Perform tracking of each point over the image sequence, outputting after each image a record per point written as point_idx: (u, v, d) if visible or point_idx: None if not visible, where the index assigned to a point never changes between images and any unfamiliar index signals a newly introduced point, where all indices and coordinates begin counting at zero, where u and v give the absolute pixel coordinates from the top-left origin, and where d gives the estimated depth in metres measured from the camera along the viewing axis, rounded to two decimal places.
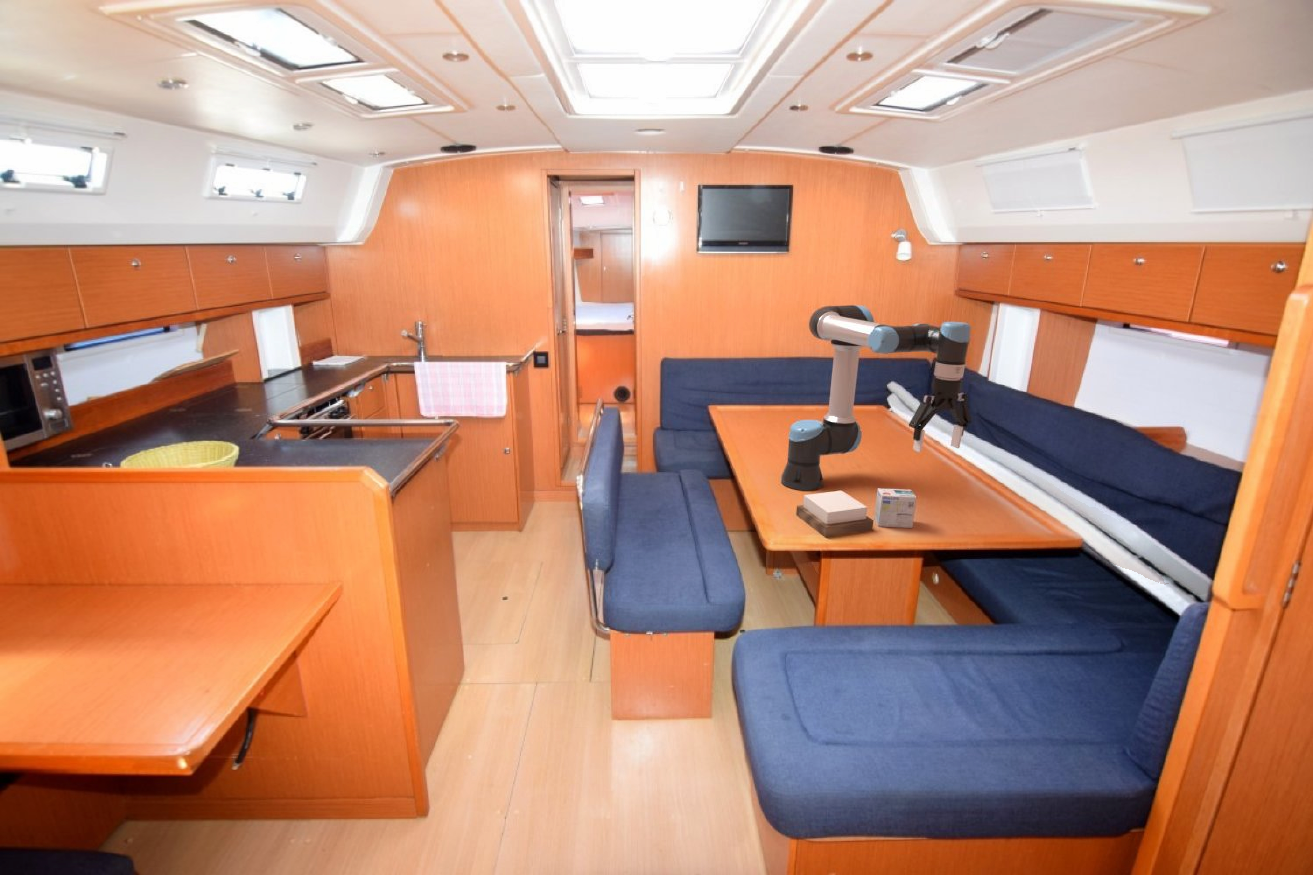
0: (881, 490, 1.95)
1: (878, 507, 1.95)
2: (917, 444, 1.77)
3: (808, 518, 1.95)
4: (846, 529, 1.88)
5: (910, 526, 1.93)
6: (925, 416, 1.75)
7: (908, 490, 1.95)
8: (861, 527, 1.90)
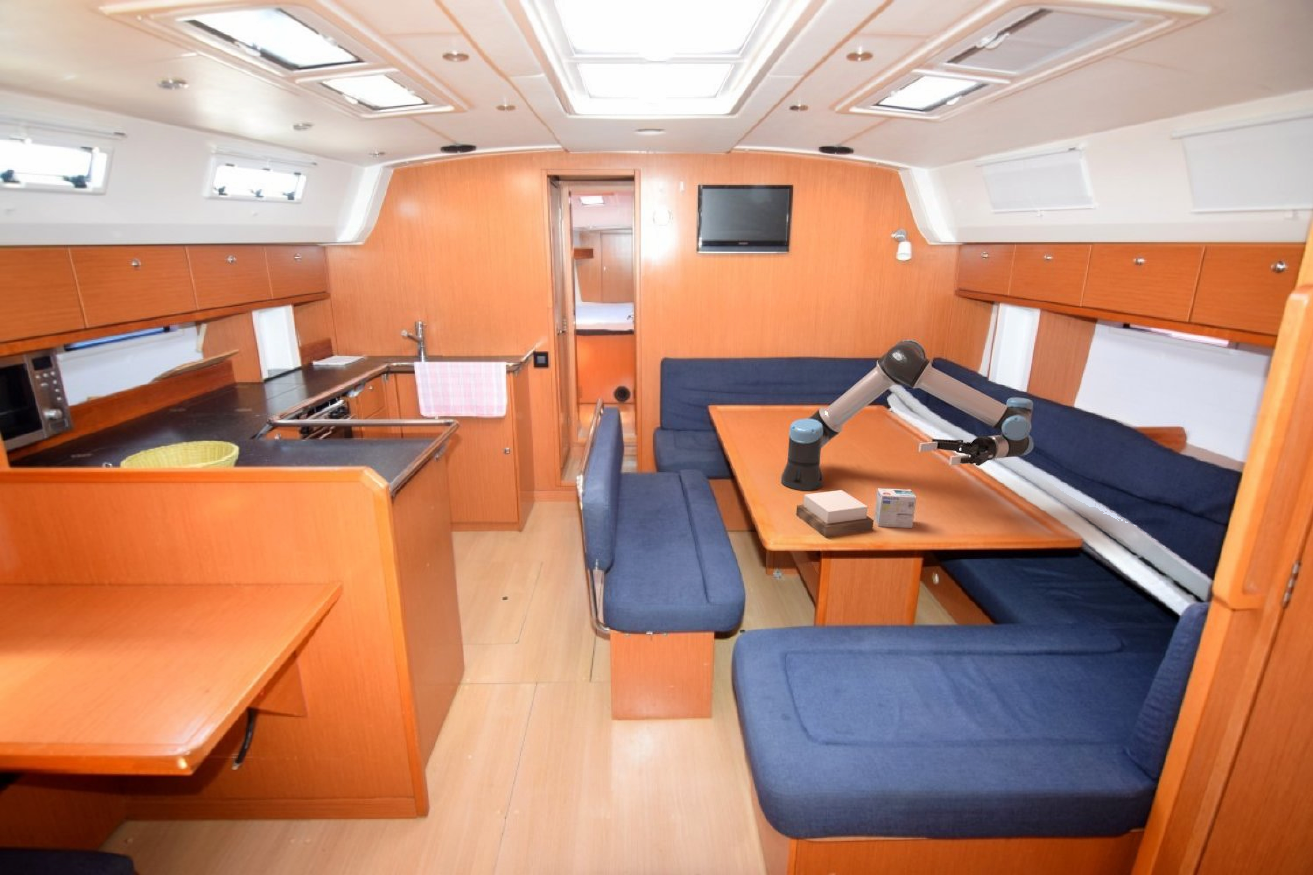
0: (881, 490, 1.95)
1: (878, 507, 1.95)
2: (956, 461, 1.88)
3: (809, 518, 1.94)
4: (847, 528, 1.88)
5: (910, 526, 1.93)
6: (975, 457, 1.91)
7: (908, 490, 1.95)
8: (861, 526, 1.90)
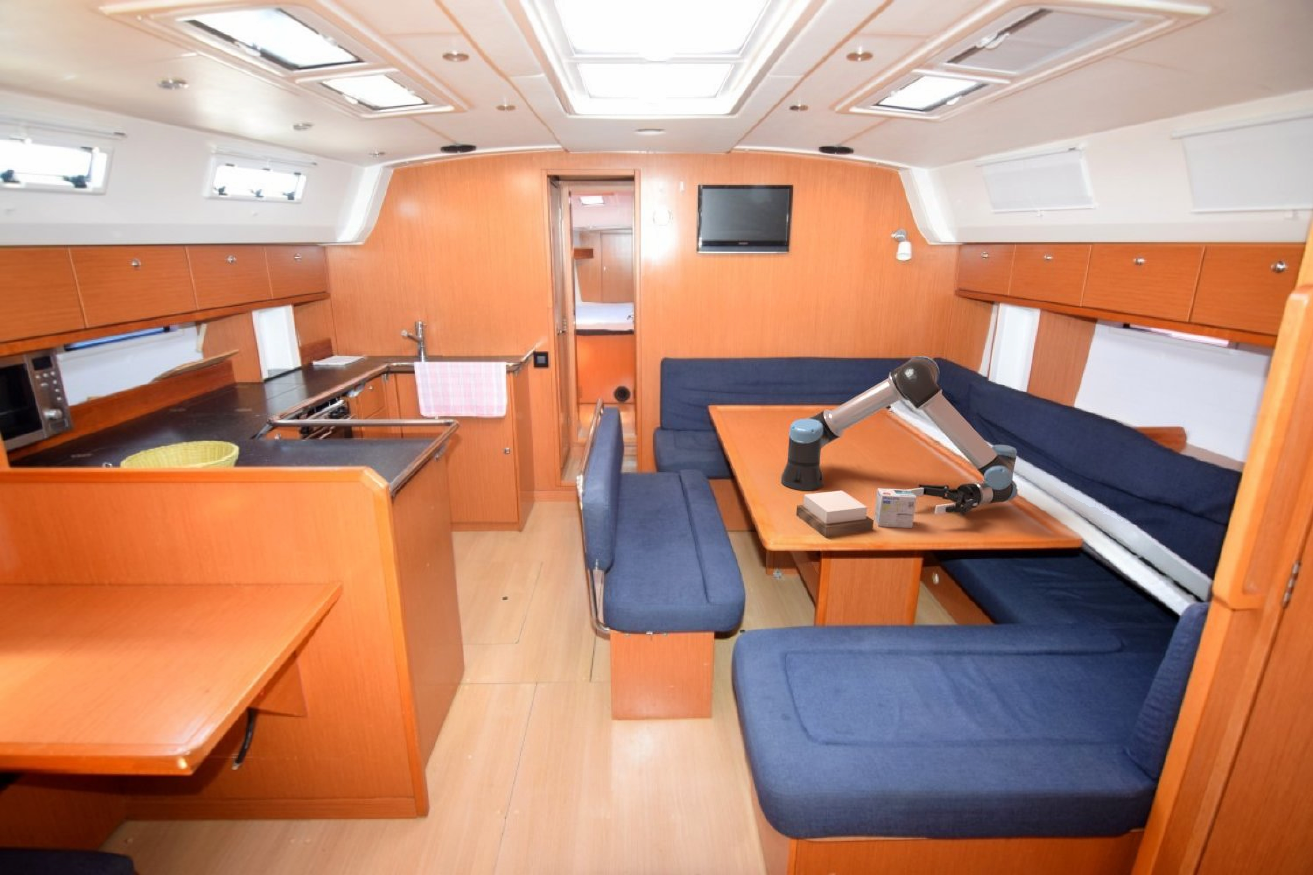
0: (881, 490, 1.95)
1: (878, 507, 1.95)
2: (942, 510, 1.92)
3: (809, 518, 1.94)
4: (847, 529, 1.88)
5: (910, 526, 1.93)
6: (960, 505, 1.95)
7: (908, 490, 1.95)
8: (862, 527, 1.90)
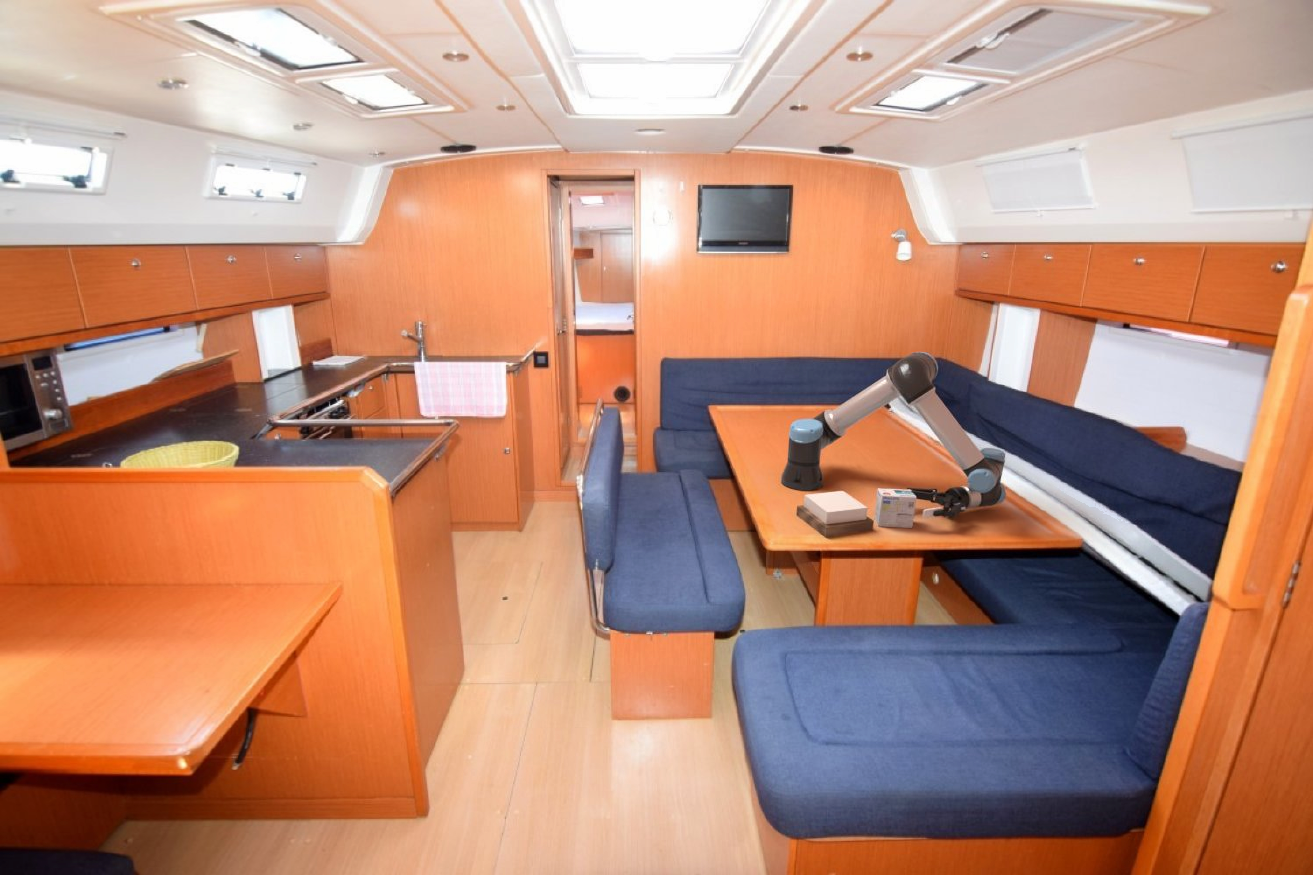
0: (881, 490, 1.95)
1: (878, 507, 1.95)
2: (929, 514, 1.90)
3: (809, 518, 1.94)
4: (847, 529, 1.88)
5: (910, 526, 1.93)
6: (948, 509, 1.94)
7: (908, 490, 1.95)
8: (862, 527, 1.90)
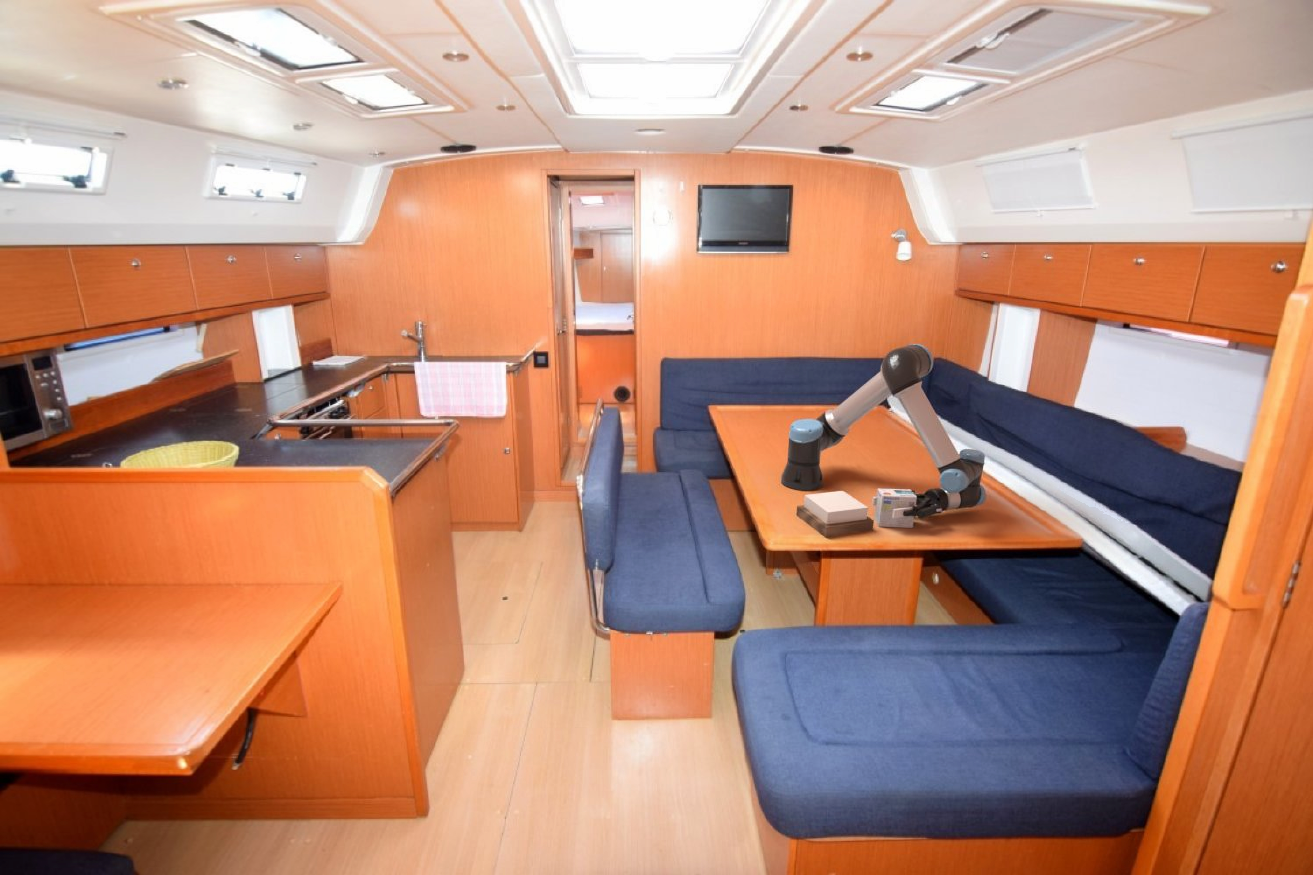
0: (881, 490, 1.95)
1: (878, 507, 1.94)
2: (899, 513, 1.89)
3: (809, 518, 1.94)
4: (847, 529, 1.88)
5: (910, 526, 1.93)
6: (921, 509, 1.92)
7: (908, 490, 1.95)
8: (862, 527, 1.90)
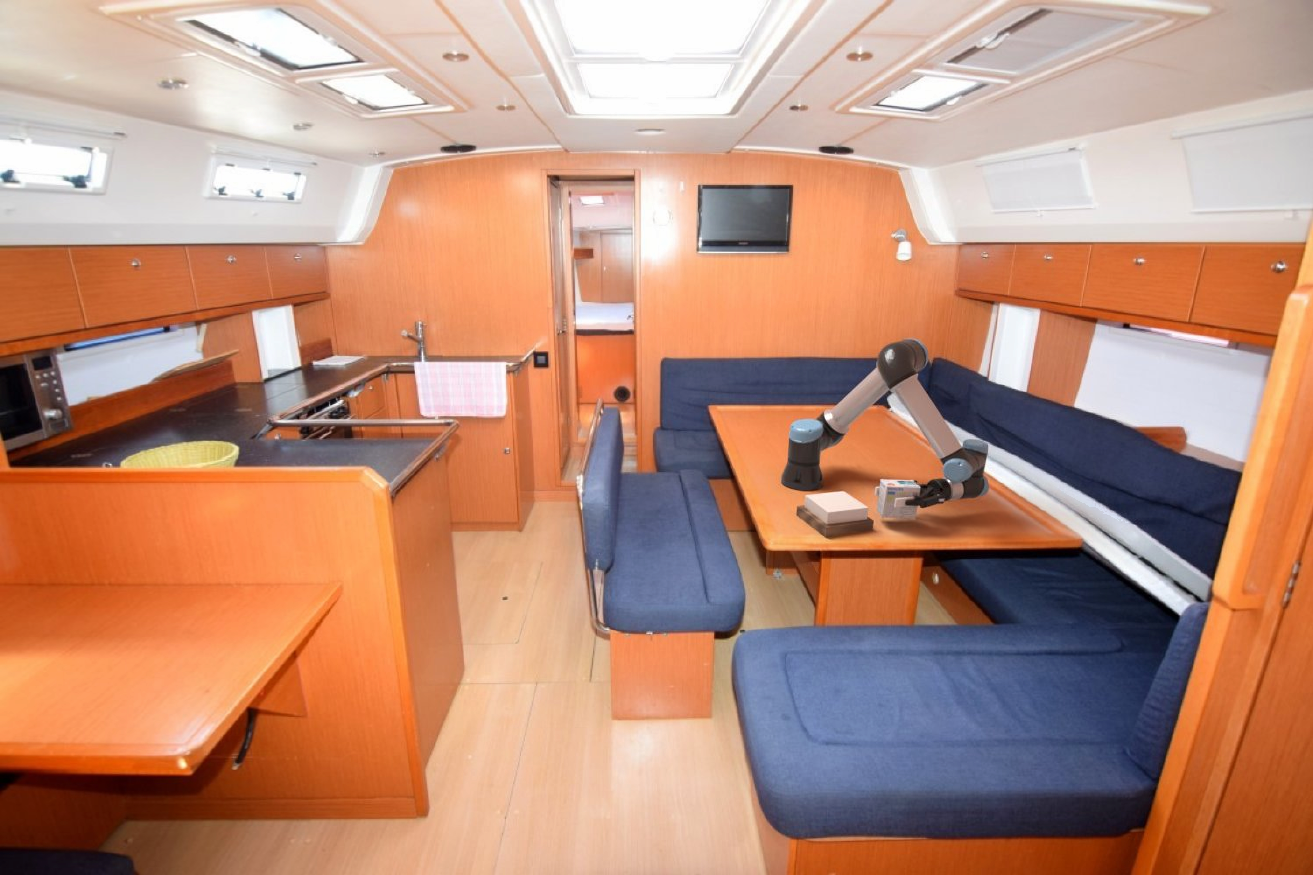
0: (885, 481, 1.93)
1: (882, 498, 1.93)
2: (901, 503, 1.88)
3: (809, 519, 1.94)
4: (847, 529, 1.88)
5: (914, 517, 1.92)
6: None
7: (911, 480, 1.94)
8: (862, 527, 1.90)
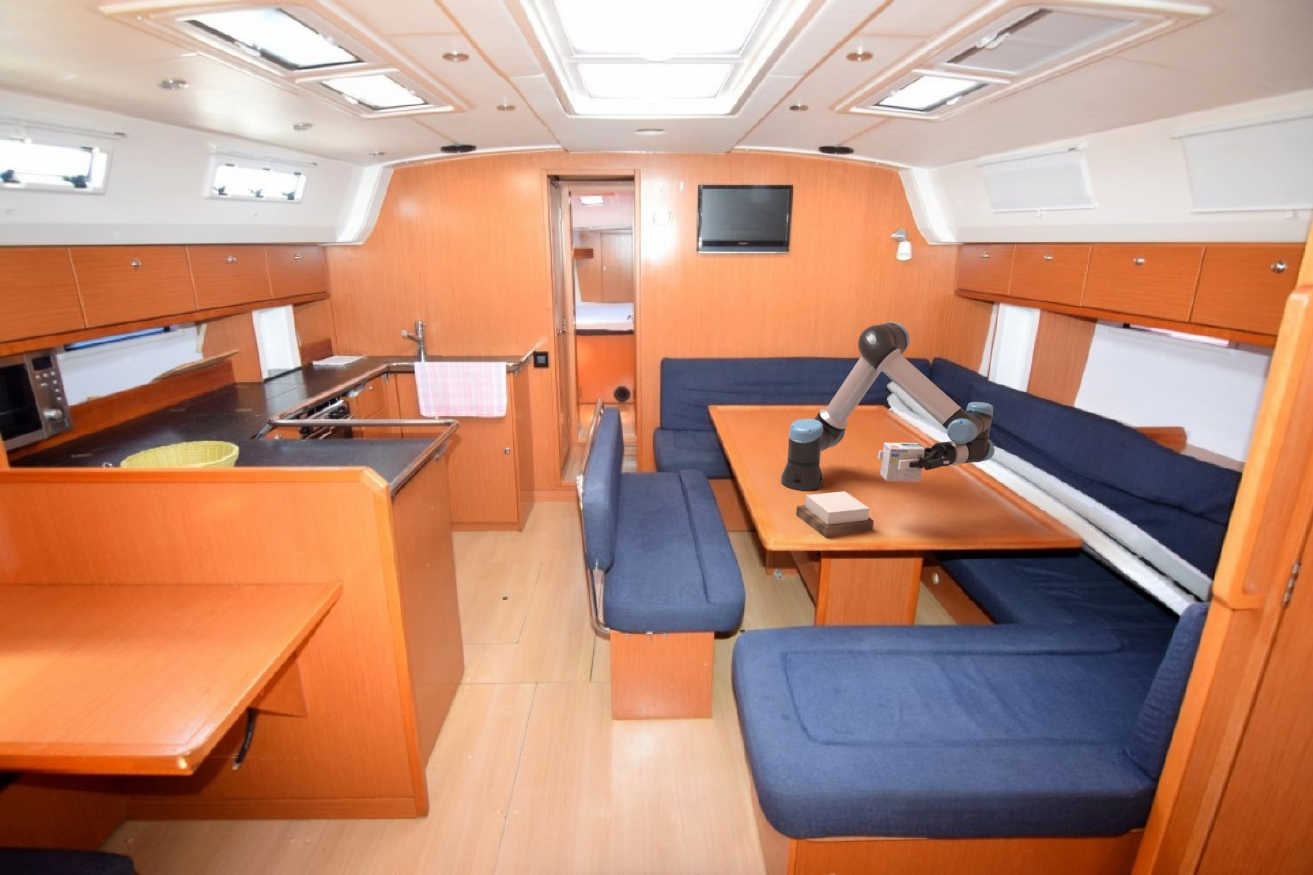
0: (888, 444, 1.90)
1: (886, 461, 1.89)
2: (905, 465, 1.85)
3: (809, 518, 1.94)
4: (847, 529, 1.88)
5: (918, 480, 1.89)
6: None
7: (915, 443, 1.91)
8: (862, 527, 1.90)
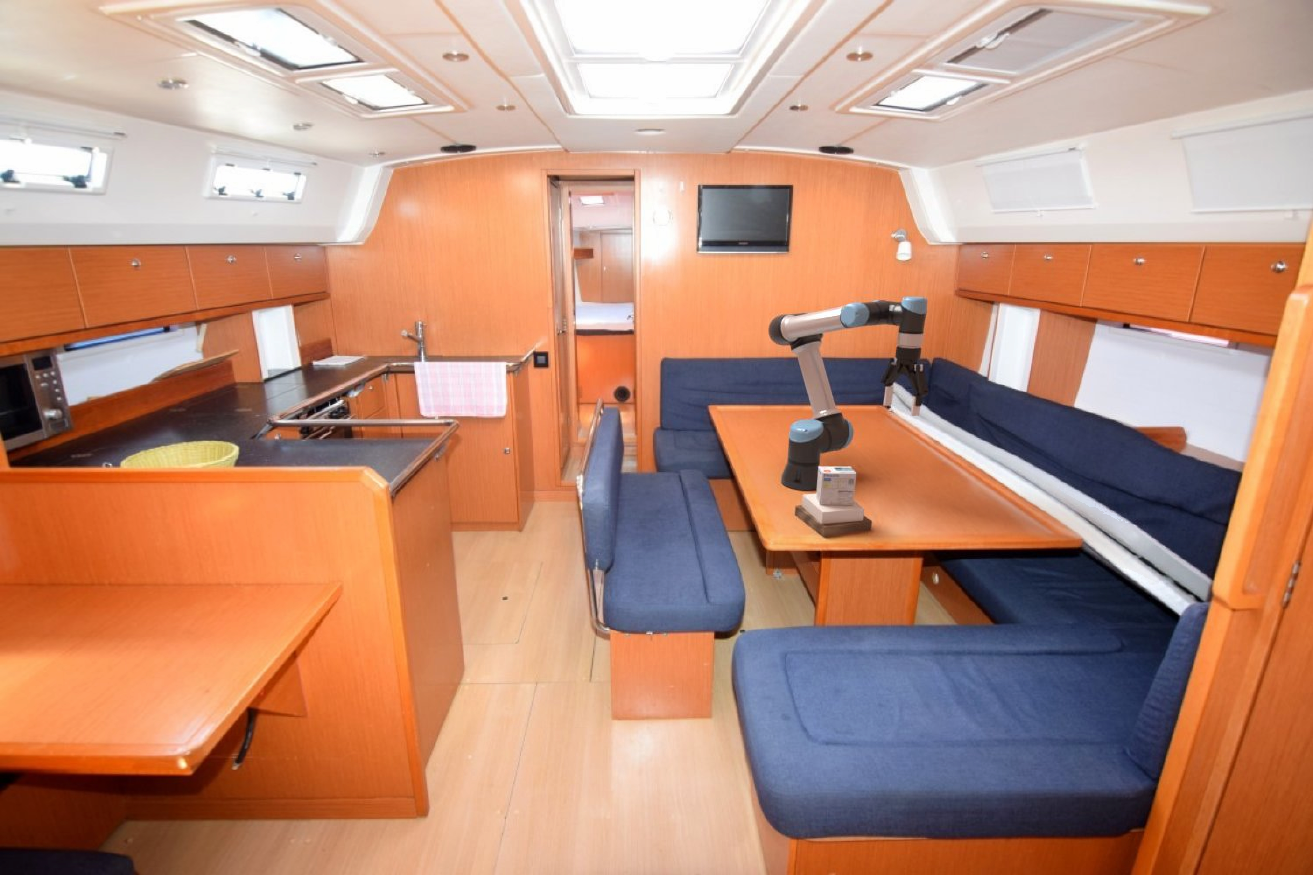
0: (822, 468, 1.93)
1: (819, 485, 1.92)
2: (916, 409, 1.96)
3: (807, 518, 1.95)
4: (845, 529, 1.88)
5: (851, 503, 1.91)
6: (917, 383, 1.95)
7: (848, 467, 1.94)
8: (860, 527, 1.90)
